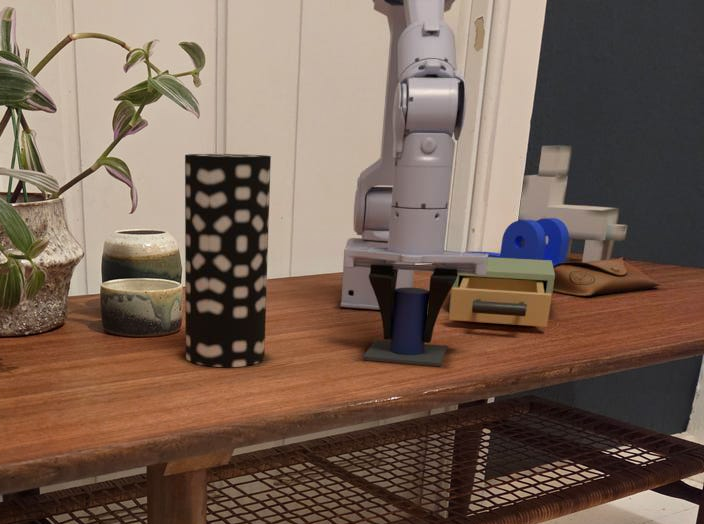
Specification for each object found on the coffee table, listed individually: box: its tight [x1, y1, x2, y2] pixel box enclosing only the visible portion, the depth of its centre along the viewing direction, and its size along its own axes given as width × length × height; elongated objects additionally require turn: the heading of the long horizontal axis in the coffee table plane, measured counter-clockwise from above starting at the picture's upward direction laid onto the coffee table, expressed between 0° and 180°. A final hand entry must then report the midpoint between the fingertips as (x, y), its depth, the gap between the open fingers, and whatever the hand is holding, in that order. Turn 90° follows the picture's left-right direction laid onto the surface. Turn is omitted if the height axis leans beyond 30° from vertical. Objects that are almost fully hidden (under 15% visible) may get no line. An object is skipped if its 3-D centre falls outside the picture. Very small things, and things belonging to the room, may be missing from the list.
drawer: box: [448, 276, 552, 328], centre depth 109 cm, size 17×11×4 cm
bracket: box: [466, 218, 569, 266], centre depth 150 cm, size 18×8×9 cm, turn 36°
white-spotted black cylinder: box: [184, 153, 272, 368], centre depth 89 cm, size 8×8×20 cm
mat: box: [362, 339, 448, 368], centre depth 95 cm, size 8×8×1 cm
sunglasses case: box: [553, 256, 662, 297], centre depth 135 cm, size 18×7×7 cm
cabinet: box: [448, 257, 555, 319], centre depth 121 cm, size 14×13×6 cm
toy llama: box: [518, 145, 628, 262], centre depth 156 cm, size 8×18×20 cm, turn 49°
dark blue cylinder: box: [389, 287, 429, 355], centre depth 94 cm, size 4×4×6 cm
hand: (407, 339), depth 94 cm, fingers closed on dark blue cylinder, 3 cm apart
